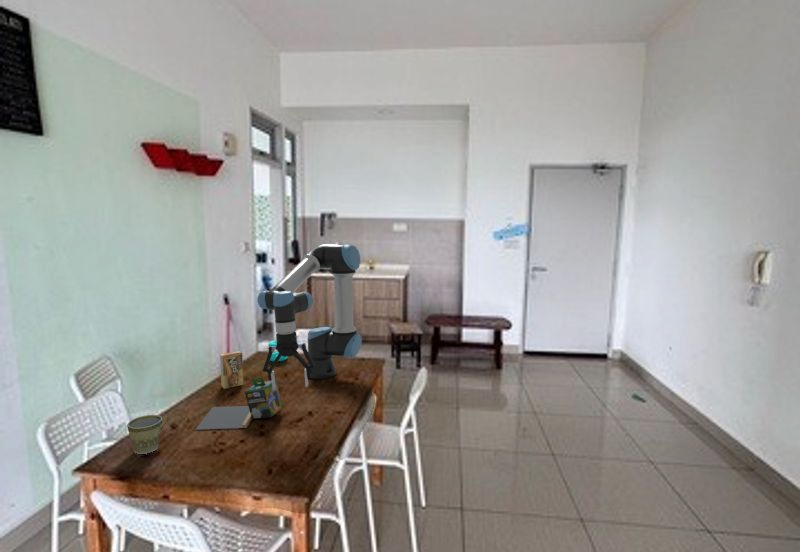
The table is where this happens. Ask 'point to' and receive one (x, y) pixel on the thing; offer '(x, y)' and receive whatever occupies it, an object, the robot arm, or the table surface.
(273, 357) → the donuts
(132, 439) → the ceramic cup
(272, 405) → the chalk box
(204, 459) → the table surface
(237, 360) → the candy box
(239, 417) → the mat
